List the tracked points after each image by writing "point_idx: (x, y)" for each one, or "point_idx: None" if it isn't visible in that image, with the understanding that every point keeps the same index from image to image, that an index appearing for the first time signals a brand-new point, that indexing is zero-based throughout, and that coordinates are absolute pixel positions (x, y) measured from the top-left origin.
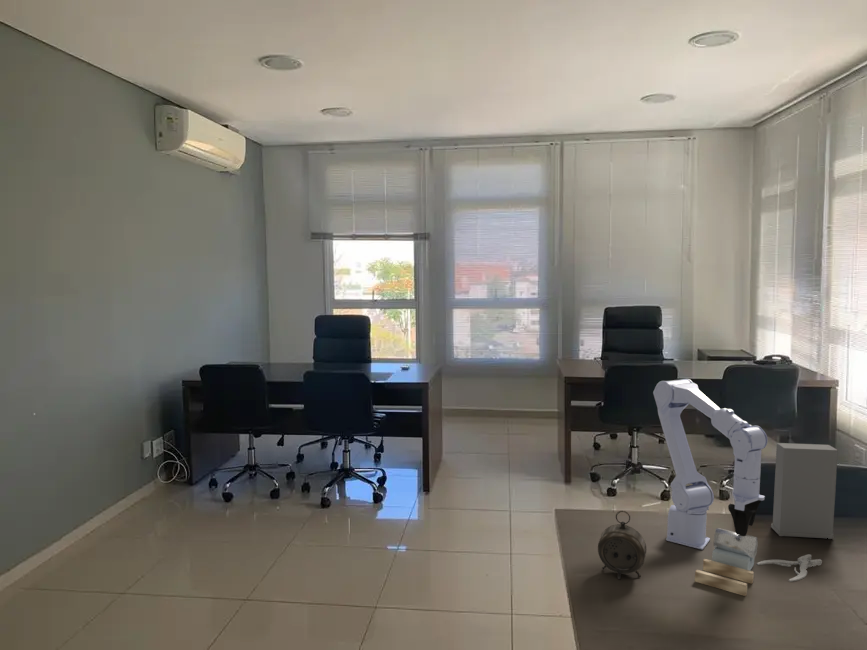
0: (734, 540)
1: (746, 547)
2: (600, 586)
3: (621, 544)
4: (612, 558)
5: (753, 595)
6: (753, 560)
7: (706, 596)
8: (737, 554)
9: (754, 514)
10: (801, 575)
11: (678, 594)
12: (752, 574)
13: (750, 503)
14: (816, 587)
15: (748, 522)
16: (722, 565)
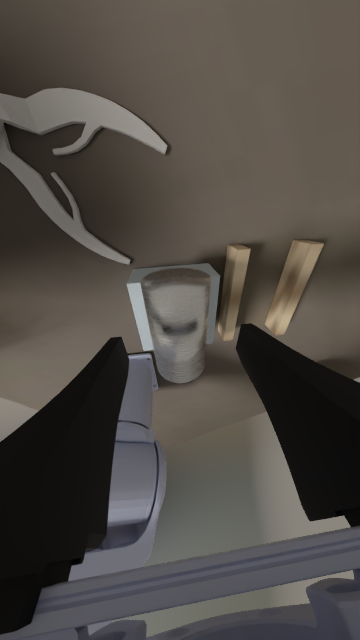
0: (205, 334)
1: (209, 298)
2: None
3: None
4: None
5: (294, 225)
6: (141, 272)
7: (320, 295)
8: None
9: (99, 379)
10: (98, 110)
11: (322, 324)
12: (249, 248)
13: (83, 475)
14: (146, 10)
15: (325, 367)
16: (237, 311)
